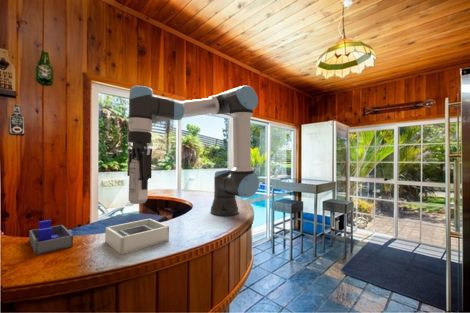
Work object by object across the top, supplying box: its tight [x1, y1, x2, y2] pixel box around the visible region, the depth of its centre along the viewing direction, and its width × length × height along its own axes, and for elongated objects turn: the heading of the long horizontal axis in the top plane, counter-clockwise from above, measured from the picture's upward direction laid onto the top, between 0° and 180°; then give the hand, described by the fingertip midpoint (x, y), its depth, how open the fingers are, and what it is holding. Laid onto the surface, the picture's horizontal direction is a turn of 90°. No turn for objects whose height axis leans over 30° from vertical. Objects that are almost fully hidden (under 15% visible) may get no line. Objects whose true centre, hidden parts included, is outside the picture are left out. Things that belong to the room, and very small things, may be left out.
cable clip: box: [38, 219, 58, 242], centre depth 73 cm, size 12×4×6 cm, turn 41°
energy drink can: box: [128, 159, 149, 205], centre depth 77 cm, size 6×6×15 cm
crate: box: [104, 218, 170, 255], centre depth 77 cm, size 16×14×5 cm
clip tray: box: [28, 224, 74, 256], centre depth 73 cm, size 9×16×4 cm, turn 48°
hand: (138, 197), depth 77 cm, fingers closed on energy drink can, 6 cm apart
